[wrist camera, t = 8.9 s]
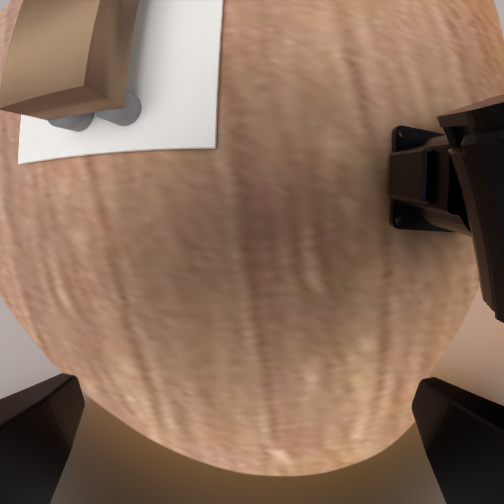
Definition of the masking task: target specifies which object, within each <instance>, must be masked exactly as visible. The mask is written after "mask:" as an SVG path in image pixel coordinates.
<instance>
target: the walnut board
mask: <svg viewBox="0 0 504 504" xmlns="http://www.w3.org/2000/svg"><path fill="white" fill-rule="evenodd" d="M138 4H139V0H23V3H22V6H21V9H20V12H19V15H18V18H17V21H16V24H15V28H14V31H13V35H12V38H11V42H10V46H9V50H8V54H7V58H6V63H5V68H4V72H3V78H2V83H1V89H0V110H4V111H9V112H13V113H18V114H22V115H26V116H31V117H35V118H39V119H43V120H47V121H48V120H53V119H58V118H63V117H68V116H73V115H79V114H85V113H91V112H98V111H105V110H112V109H120V108H125V95H126V85H127V75H128V67H129V59H130V51H131V44H132V38H133V32H134V26H135V20H136V14H137V9H138Z"/></svg>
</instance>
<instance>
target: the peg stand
mask: <svg viewBox="0 0 504 504" xmlns="http://www.w3.org/2000/svg"><path fill="white" fill-rule="evenodd" d="M223 5H224V0H139V4H138V9H137V14H136V20H135V26H134V32H133V38H132V44H131V51H130V59H129V67H128V75H127V85H126V95H125V108H120V109H112V110H105V111H98V112H91V113H85V114H79V115H73V116H68V117H63V118H58V119H53V120H48V121H47V120H43V119H39V118H35V117H31V116H26V115H22V114H21V124H20V136H19V154H18V164H28V163H34V162H41V161H47V160H55V159H62V158H70V157H79V156H88V155H98V154H109V153H121V152H135V151H153V150H177V149H216V138H217V109H218V86H219V67H220V49H221V33H222V19H223Z"/></svg>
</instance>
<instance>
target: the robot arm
mask: <svg viewBox="0 0 504 504" xmlns="http://www.w3.org/2000/svg"><path fill="white" fill-rule="evenodd" d="M437 118H438V121H439V123H440V126H441V127H443V129H444V131H445V134H446V135H443V134H439V133H435V132H430V131H426V130H421V129H416V128H411V127H406V126H397V127H395V128H394V129H393V153H392V154H391V155H390V175H389V195H390V197H391V206H390V224H391V226H392V227H394V228H397V229H410V230H427V231H443V232H458V233H461V234H464V235H467V236H471V237H472V240H473V245H474V250H475V255H476V261H477V267H478V274H479V280H480V288H481V292H482V296H483V300H484V301H485V302H486V303H487V305H488V306H489V307H490V308H491V309H492V310H493V311H494V312H495V318H496V319H497V320H499V321H501V322H503V323H504V95H501V96H497V97H493V98H490V99H487V100H484V101H481V102H478V103H475V104H472V105H469V106H466V107H463V108H460V109H457V110H454V111H451V112H449V113H446V114H443V115H440V116H438V117H437ZM399 130H400V131H401V132H402V133H403V136H402V137H400V135H399ZM397 217H399V219H400V221H399V223H398V224H396V218H397ZM84 406H85V401H84V397H83V394H82V391H81V387H80V384H79V381H78V379H77V377H76V376H74V375H70V374H65V373H62V374H59V375H57V376H55V377H52V378H50V379H48V380H45V381H43V382H41V383H38V384H36V385H34V386H31V387H29V388H26V389H24V390H22V391H19V392H17V393H14V394H12V395H10V396H7V397H5V398H2V399H0V504H50V503H51V500H52V497H53V495H54V492H55V489H56V487H57V484H58V482H59V479H60V477H61V474H62V472H63V469H64V467H65V464H66V462H67V460H68V457H69V455H70V452H71V449H72V446H73V443H74V439H75V436H76V433H77V429H78V426H79V423H80V420H81V417H82V413H83V410H84ZM412 411H413V414H414V417H415V421H416V423H417V427H418V430H419V433H420V436H421V440H422V443H423V446H424V449H425V452H426V455H427V457H428V460H429V462H430V465H431V467H432V469H433V472H434V474H435V477H436V479H437V482H438V484H439V486H440V489H441V492H442V494H443V497H444V499H445V502H446V504H504V406H502V405H500V404H497V403H495V402H492V401H490V400H488V399H485V398H483V397H480V396H478V395H476V394H473V393H471V392H468V391H466V390H464V389H461V388H459V387H457V386H454V385H452V384H450V383H447V382H445V381H443V380H441V379H438V378H436V377H431V378H425V379H422V380H421V381H420V383H419V385H418V388H417V391H416V394H415V397H414V399H413V402H412Z"/></svg>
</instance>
